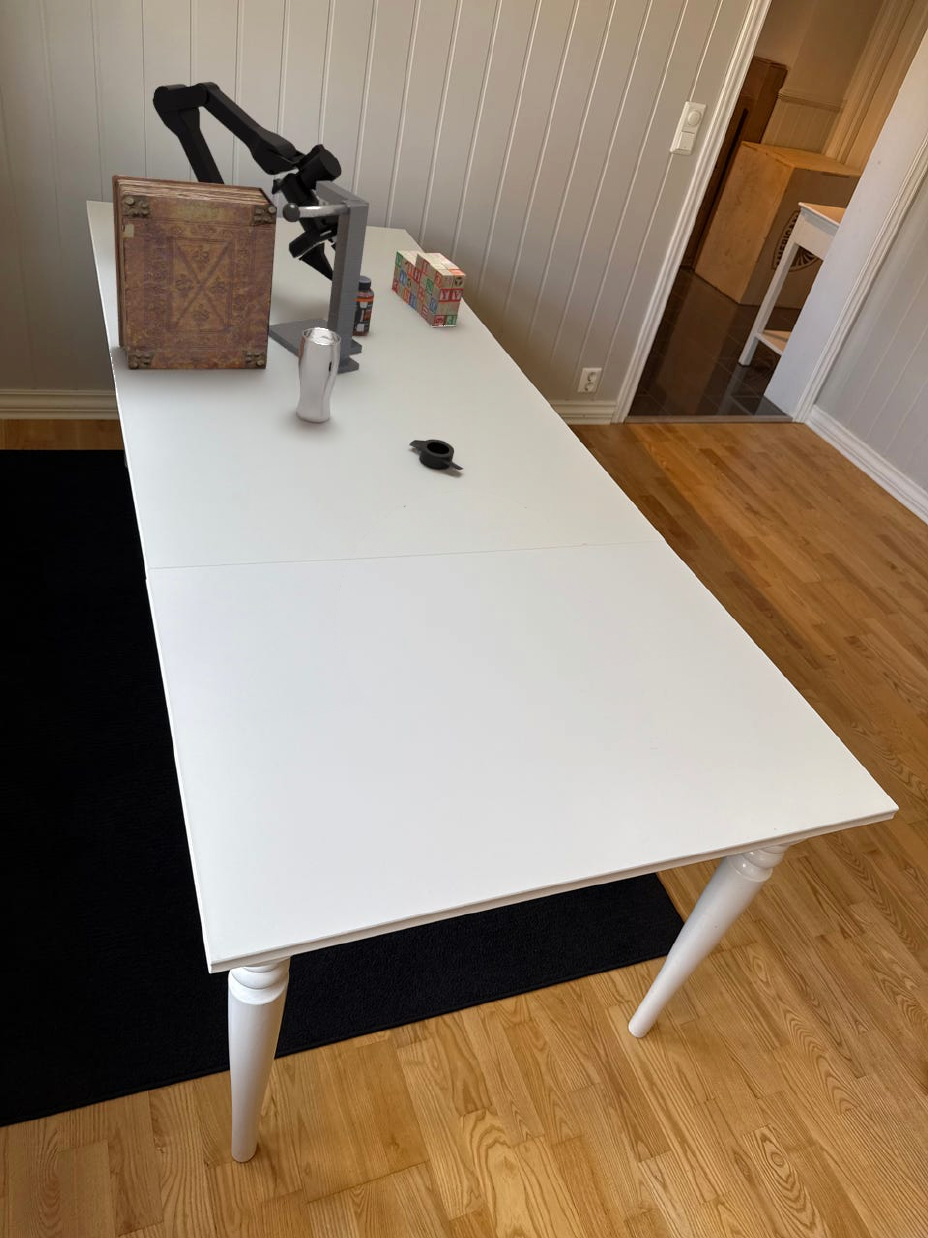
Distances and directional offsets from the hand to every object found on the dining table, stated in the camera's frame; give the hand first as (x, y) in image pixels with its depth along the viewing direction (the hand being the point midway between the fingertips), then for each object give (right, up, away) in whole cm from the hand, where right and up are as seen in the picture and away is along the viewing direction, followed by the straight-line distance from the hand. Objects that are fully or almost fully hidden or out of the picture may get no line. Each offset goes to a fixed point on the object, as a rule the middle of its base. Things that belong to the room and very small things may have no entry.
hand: (345, 275), depth 184 cm
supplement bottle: (+1, -10, +6) cm, 12 cm away
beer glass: (-2, -35, -25) cm, 43 cm away
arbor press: (-8, -18, -7) cm, 21 cm away
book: (-26, -23, -18) cm, 39 cm away
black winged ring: (+20, -44, -28) cm, 56 cm away
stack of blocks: (+15, +2, +24) cm, 28 cm away
